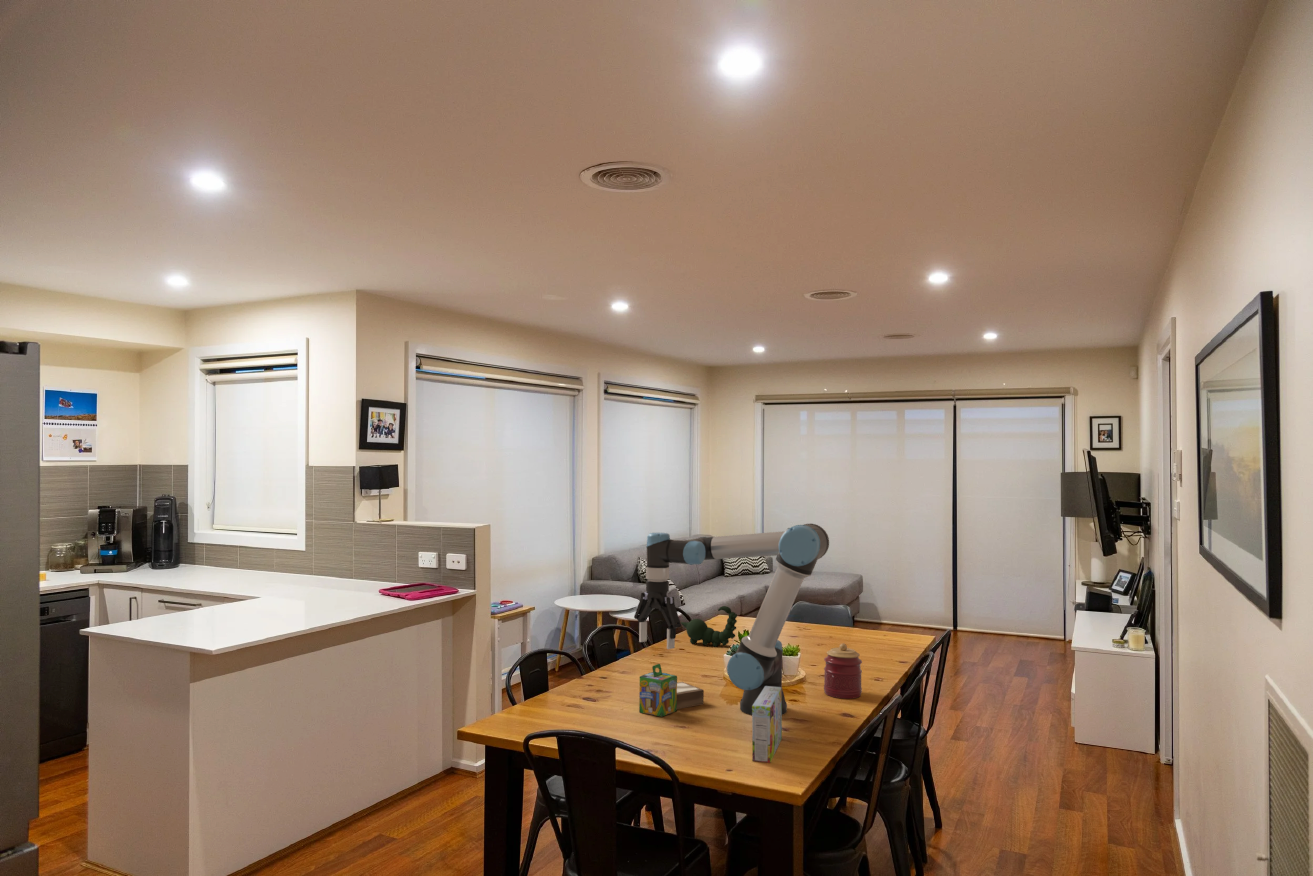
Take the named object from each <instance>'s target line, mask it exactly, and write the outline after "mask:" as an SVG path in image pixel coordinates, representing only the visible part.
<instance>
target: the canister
mask: <svg viewBox="0 0 1313 876" xmlns="http://www.w3.org/2000/svg"><path fill="white" fill-rule="evenodd" d="M826 654H827V656H825V658H823V659H824V662H825V666H824V668H823V669H824V682H823V683H824V684H823V691H824V694H825V695H826V696H828V697H830V698H831V697H832V698H837V699H846V700H847V699H851V700H852V699H857V698H860V697H861V695H862V673H863V670H862V668H861V665H862V663H863V661H862V659H860V658H859V657H860V653H859V652H857V651H856V650H855V649H853V648H850V647H848V646H847V644H845V642H843V643H840V644H839V647H832V648H831V649H830V650H827V651H826Z"/></svg>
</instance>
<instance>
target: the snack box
mask: <svg viewBox="0 0 1313 876" xmlns="http://www.w3.org/2000/svg"><path fill="white" fill-rule="evenodd" d="M782 690H783V687H782V688H781V687H773V686H765V687H764V689H763V690H762V692H761V693H760V695H759V696H758V698H757V699H756V701H755V702H754V704H753V705H752V715H751V716H752V719H751V723H752V724H751V725H752V729H751V730H752V732H751V733H752V736H751V737H752V739H751V740H752V742H751V743H752V745H751V747H752V756H751V757H752V759H751V761H752V762H758V763H766V764H767V763H768V764H770V763H771V762H772V760H773V758H774V756H775V754H776V751H778V748H779V746H780V743H781V742H782V739H783V717H782Z"/></svg>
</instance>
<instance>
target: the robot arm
mask: <svg viewBox="0 0 1313 876" xmlns="http://www.w3.org/2000/svg"><path fill="white" fill-rule="evenodd" d="M646 539H647V540H646V545H645V547H646V568H645V569H646V570H645V572H646V573H645V578H646V581H645V591H644V592H641V593H640V600H639V601H638V605H637V608H636V610H635V612H634V617H633V618H634V620H637V622H638V634H639V636H638V640H639V641H638V642H639V643H643V642H645V643H646V642H647V640H648V638H647V637H648V621H647V618H648V616H649V615H650V614H651V612H652V611H653V609H656V610H659V612H661V614H662V616H663V618H664V620H665V622H666V624H667V626H668V628H666V649H667V650H673V649H675V648H676V647H675V643H676V642H675V641H676V640H675V639H676V637H677V628H680V627H681V626H682V624H681V620H680V617H679V614H678V611H677V608H676V604H675V597H674V596H669V597H668V593H669V591H670V581H669V578H670V564H683V565H690V566H694V565H697V566H698V565H701V564H703V562H704V561H709V560H711V561H712V560H724V559H740V558H742V559H743V558H759V557H769V556H770V557H771V556H772V557H773V556H776V557H775V562H776V565H777V568H776V570H775V572H774V575H773V576H772V580H771V582H770V584H769V587H768V589H767V592H766V593H765V597H764V598H763V601H762V603H761V605H760V608H759V610H758V613H757V615H756V618H755V620H754V622H753V625H752V626H751V629H750V631H749V634H748V635H745V636H743V637H742V638H741V640H740V643H739V645H738V647H737V650H736V651H735V653H733V655H731V657H730V658H729V660H728V662H727V666H726V672H727V675H728V677H729V678H728V679H729V680H730V681H731V683H732V684H733V686H735V687H736V688H738V689H741V690H743V693H742V697H741V699H740V701H739V709H740V711H741V712H743V713H745V714H747V715H751V716H752V705H753V704H754V702H755V701H756V699H757V698H758V696H759V695H760V693H761V692H762V690H763V689H764V687H765V686H773V687H781V688H782V715H786V714H787V712H788V704H787V701H786V698H785V693H784V689H783V684H782V683H783V682H782V681H783V652H784V651H783V643H782V641H780V640H779V637H780V635H781V633H782V630H783V628H784V626H785V624H786V621H787V619H788V616H789V614H790V611H791V609H792V607H793V605H794V603H795V600H796V598H797V596H798V594H799V591H800V588H801V587H802V584H803V583H804V582H803V581H804V580H805V578H808V577H811V575H812V573H813V571H814V569H815V566H816V564H817V562H818V560H820V559H822V558H823V557H824V556H825V555H826V554H827V553H828V550H829V548H830V537H829V535H828V533H827V531H826V530H825V528H823V527H822V526H820V525H819V524H816V523H803V524H797V525H793V526H791V527H788V528H787V529H786V530H785V531H784V530H783V531H773V532H772V531H771V532H756V533H745V534H744V533H743V534H736V535H735V534H733V535H720V536H709V537H707V536H700V537H698V538H693V539H688V540H687V539H686V540H684V539H682V540H680V539H679V540H678V539H671V537H670V534H669V533H667V532H650V533H648V534H647V538H646Z"/></svg>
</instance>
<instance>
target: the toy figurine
mask: <svg viewBox="0 0 1313 876" xmlns="http://www.w3.org/2000/svg"><path fill="white" fill-rule="evenodd" d="M717 610H718V611H724V612H725V613H726V614H728V618H727V620H726V624H725V627H724V629H723V630H722V631H719V630H715V629H714V628H713V627H709V626H708V624H707V623H706V621H704V620H702V619H701V618H693V619H691V620H690V621H689V622H688V621H685V622H684V621H680V623H681V626H683V627H684V628H685V629H686V634H687V636H688V637H689V638H690V639H689V642H690V644H692V645H695V643H696V644H697V643H698V641H702V645H704V646H707V645H709V644H712V647H713V646H714V648H716V647H718V646H720V645H722V646H727V644H729V643H730V640H729V639H732V640H733V639H734V638H735V637H736V634H735V633H734V631H735V630H737V626H736V624H737V623H738V620H737V618H738V614H737V613H736V612H734V611H732V609H731V608H730V606H726V605H722V606H720V607H719V608H718V609H717Z"/></svg>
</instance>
